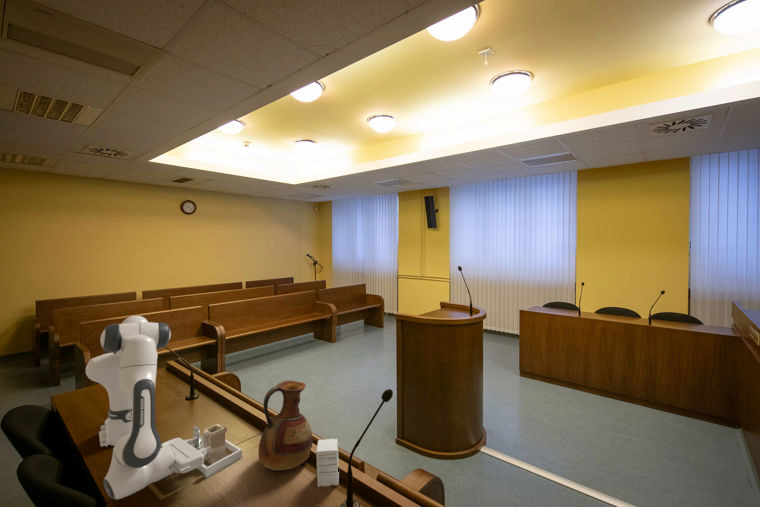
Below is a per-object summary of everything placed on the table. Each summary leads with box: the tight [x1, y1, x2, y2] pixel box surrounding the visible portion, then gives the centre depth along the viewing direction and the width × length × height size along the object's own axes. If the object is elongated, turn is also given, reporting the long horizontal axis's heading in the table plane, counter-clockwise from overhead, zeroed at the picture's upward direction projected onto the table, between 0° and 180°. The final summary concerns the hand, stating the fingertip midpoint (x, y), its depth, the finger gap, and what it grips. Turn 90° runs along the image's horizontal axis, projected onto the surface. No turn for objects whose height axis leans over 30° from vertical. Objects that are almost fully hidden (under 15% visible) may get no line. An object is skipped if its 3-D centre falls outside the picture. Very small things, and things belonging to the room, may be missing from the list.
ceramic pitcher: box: [258, 380, 313, 471], centre depth 131 cm, size 20×20×30 cm
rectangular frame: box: [196, 438, 243, 479], centre depth 132 cm, size 14×14×4 cm
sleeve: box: [202, 423, 228, 465], centre depth 133 cm, size 6×7×12 cm
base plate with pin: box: [191, 425, 204, 450], centre depth 141 cm, size 12×12×9 cm
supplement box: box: [316, 438, 340, 488], centre depth 120 cm, size 7×7×13 cm
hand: (204, 443), depth 129 cm, fingers open, 8 cm apart
